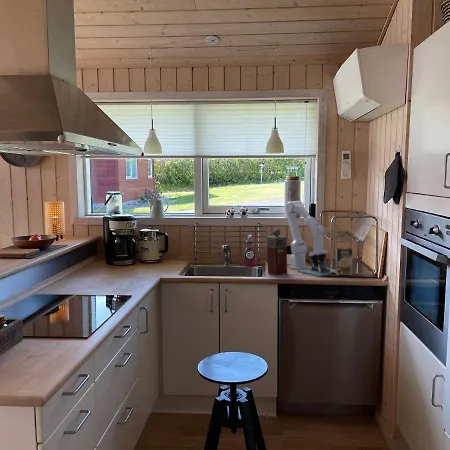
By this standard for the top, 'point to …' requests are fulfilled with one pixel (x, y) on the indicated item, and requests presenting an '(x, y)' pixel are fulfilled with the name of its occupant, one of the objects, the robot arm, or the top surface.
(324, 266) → the drive
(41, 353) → the top surface
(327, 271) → the teal square peg board
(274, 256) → the brown tall bottle
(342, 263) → the coffee box
